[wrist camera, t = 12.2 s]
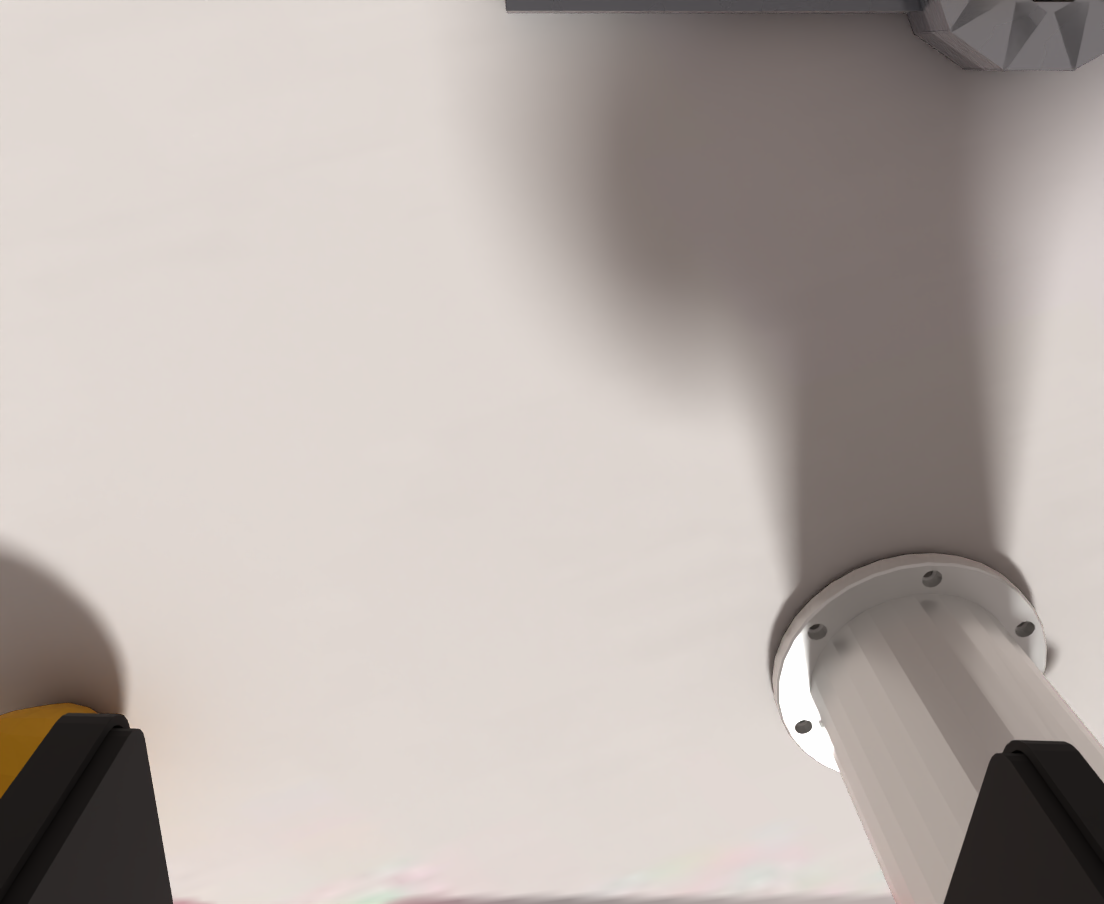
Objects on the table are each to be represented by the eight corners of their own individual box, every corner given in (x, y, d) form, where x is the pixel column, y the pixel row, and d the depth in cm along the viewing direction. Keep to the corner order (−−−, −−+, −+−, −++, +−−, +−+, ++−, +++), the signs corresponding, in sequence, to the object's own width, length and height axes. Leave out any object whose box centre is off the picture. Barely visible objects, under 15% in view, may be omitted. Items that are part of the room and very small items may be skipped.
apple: (-62, 700, 42) (-204, 854, 34) (88, 626, 41) (-23, 769, 33) (64, 823, 46) (-39, 990, 38) (206, 759, 44) (132, 919, 36)
